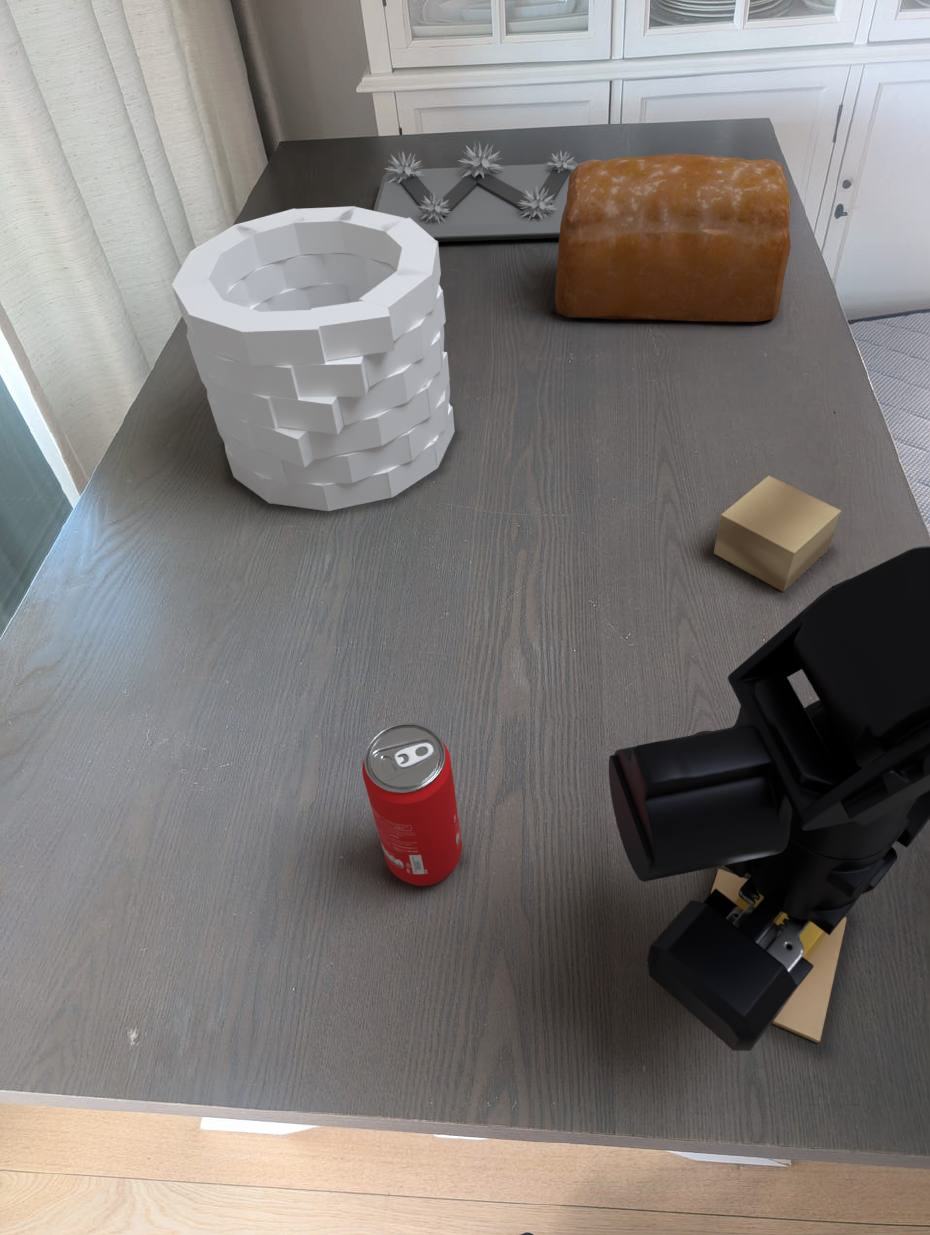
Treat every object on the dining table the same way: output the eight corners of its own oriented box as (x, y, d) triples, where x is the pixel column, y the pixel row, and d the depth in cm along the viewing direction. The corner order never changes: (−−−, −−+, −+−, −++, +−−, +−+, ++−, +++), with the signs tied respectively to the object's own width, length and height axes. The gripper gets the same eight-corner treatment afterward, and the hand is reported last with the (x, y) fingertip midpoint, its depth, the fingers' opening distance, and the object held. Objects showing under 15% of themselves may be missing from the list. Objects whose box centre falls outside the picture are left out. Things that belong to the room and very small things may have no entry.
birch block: (828, 550, 77) (841, 510, 74) (783, 592, 74) (794, 553, 71) (759, 514, 81) (768, 474, 78) (713, 553, 78) (720, 514, 75)
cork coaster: (845, 920, 55) (847, 917, 55) (818, 1043, 51) (820, 1041, 50) (718, 870, 58) (718, 867, 58) (681, 983, 54) (681, 981, 53)
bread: (781, 329, 102) (812, 187, 90) (551, 323, 106) (552, 187, 94) (772, 271, 111) (799, 135, 99) (561, 268, 115) (563, 137, 103)
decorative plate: (366, 250, 122) (358, 197, 116) (384, 185, 136) (378, 135, 131) (588, 242, 119) (590, 187, 114) (582, 176, 134) (584, 125, 128)
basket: (219, 397, 100) (166, 228, 86) (426, 356, 102) (409, 187, 89) (236, 542, 83) (175, 363, 69) (484, 489, 86) (473, 306, 72)
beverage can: (375, 839, 61) (348, 738, 52) (445, 810, 62) (429, 707, 54) (402, 904, 58) (377, 809, 49) (475, 873, 59) (463, 774, 50)
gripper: (793, 611, 50) (746, 765, 62) (570, 825, 42) (564, 956, 53) (991, 723, 44) (898, 870, 56) (776, 996, 36) (720, 1102, 48)
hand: (770, 940), depth 53 cm, fingers closed on mustard cube, 4 cm apart
